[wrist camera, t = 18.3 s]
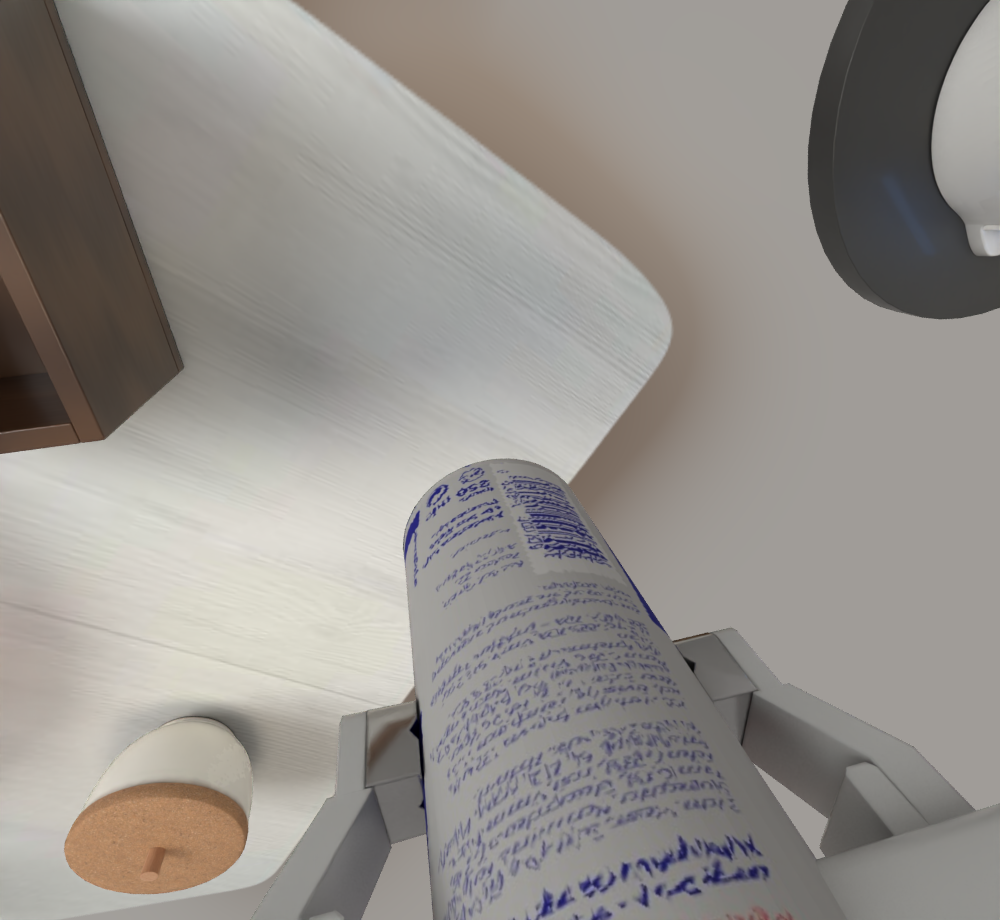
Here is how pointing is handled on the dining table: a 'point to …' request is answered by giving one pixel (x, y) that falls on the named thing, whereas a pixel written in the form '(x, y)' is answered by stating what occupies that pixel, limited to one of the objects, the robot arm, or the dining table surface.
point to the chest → (66, 255)
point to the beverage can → (574, 729)
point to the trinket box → (166, 811)
